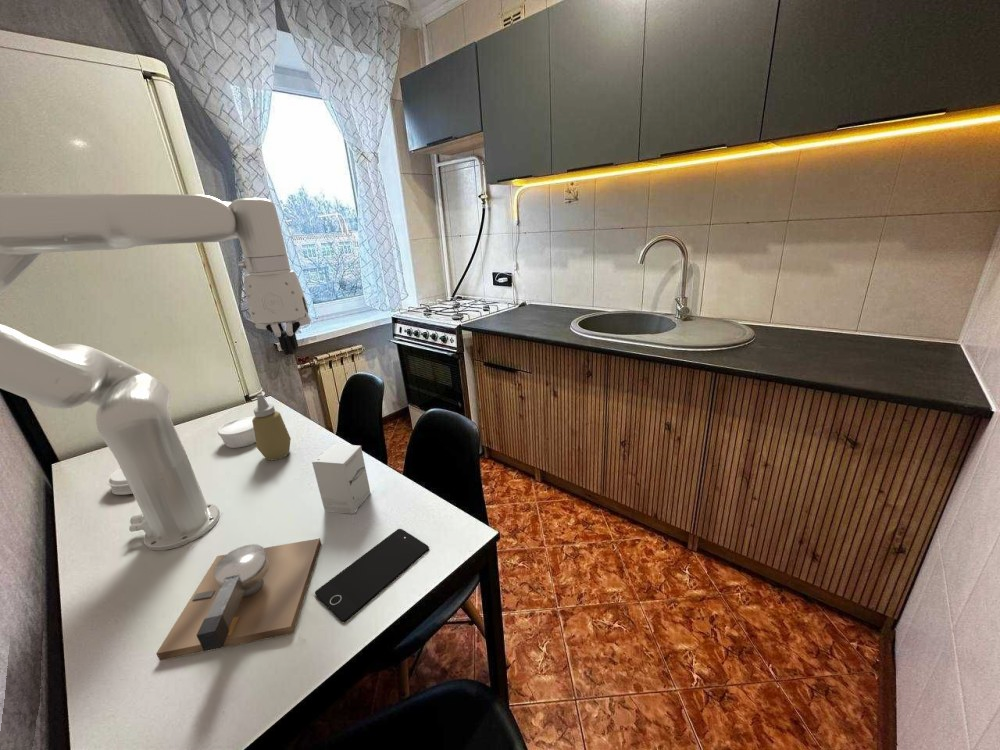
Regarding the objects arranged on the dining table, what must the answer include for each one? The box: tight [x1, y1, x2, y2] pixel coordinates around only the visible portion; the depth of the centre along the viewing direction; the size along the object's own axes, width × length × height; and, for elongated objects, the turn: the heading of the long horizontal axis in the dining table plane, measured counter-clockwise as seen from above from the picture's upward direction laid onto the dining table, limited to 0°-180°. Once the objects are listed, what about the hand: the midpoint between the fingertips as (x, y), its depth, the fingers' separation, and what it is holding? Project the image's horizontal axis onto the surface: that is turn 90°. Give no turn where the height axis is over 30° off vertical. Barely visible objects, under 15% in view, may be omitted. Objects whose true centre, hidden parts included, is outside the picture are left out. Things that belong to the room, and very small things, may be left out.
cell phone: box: [314, 528, 430, 624], centre depth 69 cm, size 9×18×1 cm, turn 142°
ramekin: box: [217, 416, 256, 449], centre depth 115 cm, size 11×11×5 cm
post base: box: [156, 537, 322, 661], centre depth 65 cm, size 18×18×4 cm
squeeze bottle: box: [252, 393, 292, 461], centre depth 104 cm, size 8×8×18 cm
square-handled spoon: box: [196, 543, 269, 653], centre depth 60 cm, size 16×7×3 cm, turn 14°
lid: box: [106, 467, 133, 496], centre depth 98 cm, size 13×13×5 cm
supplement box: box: [311, 443, 371, 515], centre depth 85 cm, size 7×7×13 cm
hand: (291, 352), depth 85 cm, fingers closed
